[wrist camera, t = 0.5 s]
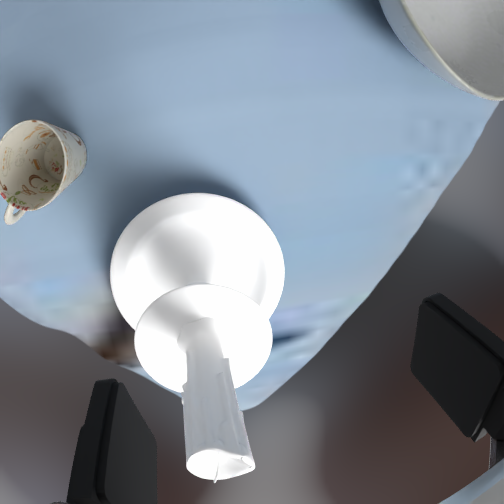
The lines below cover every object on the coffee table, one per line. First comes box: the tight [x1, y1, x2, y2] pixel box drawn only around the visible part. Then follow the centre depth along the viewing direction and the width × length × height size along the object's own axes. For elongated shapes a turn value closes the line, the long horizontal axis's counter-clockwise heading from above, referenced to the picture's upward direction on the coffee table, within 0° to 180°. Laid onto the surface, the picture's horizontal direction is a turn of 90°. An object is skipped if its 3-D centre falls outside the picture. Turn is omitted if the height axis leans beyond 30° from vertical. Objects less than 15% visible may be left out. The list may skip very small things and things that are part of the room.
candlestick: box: [110, 193, 285, 483], centre depth 28 cm, size 21×25×28 cm
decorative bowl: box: [379, 0, 504, 101], centre depth 27 cm, size 27×27×12 cm
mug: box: [0, 120, 87, 225], centre depth 28 cm, size 8×13×10 cm, turn 139°
